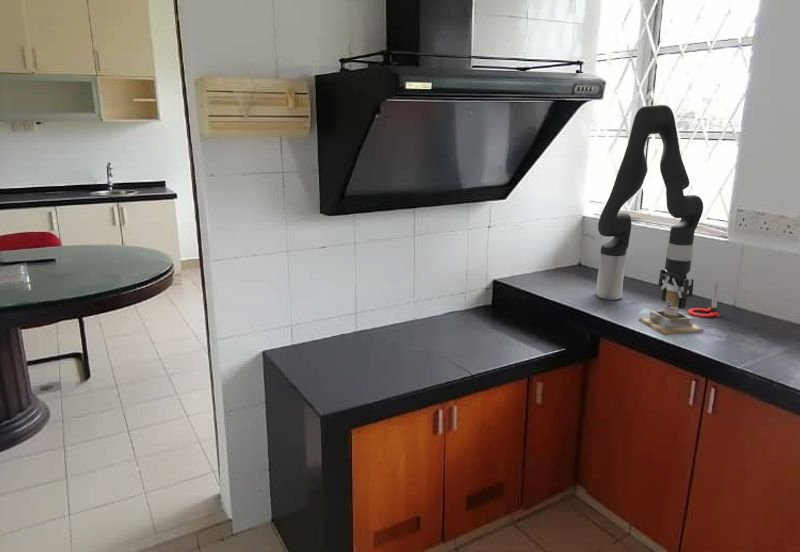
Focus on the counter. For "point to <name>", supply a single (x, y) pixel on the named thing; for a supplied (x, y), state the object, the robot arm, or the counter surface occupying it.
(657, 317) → the keeper
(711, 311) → the tow hook
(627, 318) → the counter surface
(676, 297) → the sprinkles bottle
